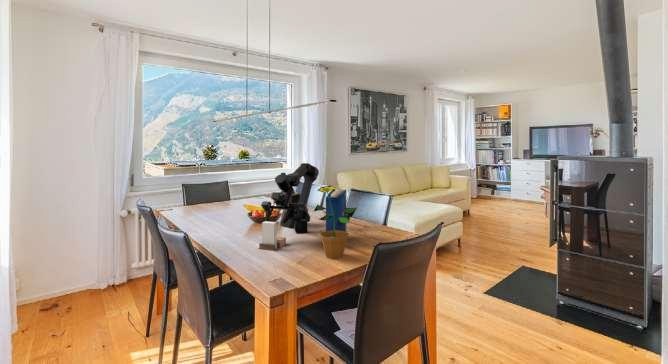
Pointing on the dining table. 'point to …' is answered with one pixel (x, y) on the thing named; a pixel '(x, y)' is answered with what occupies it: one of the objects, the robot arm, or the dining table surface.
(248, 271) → the dining table surface
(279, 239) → the offcut top
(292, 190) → the robot arm
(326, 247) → the potted plant
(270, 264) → the dining table surface
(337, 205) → the book
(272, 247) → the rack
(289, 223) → the owl
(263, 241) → the tall white pillar
